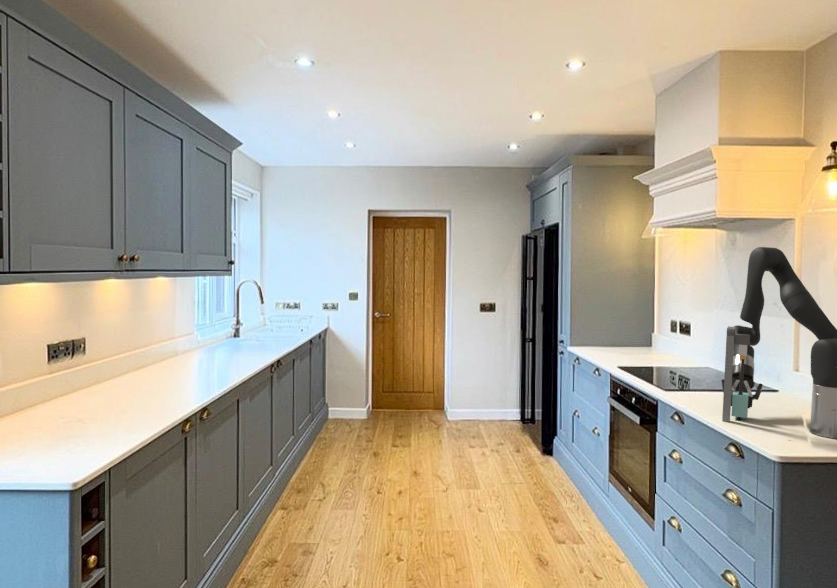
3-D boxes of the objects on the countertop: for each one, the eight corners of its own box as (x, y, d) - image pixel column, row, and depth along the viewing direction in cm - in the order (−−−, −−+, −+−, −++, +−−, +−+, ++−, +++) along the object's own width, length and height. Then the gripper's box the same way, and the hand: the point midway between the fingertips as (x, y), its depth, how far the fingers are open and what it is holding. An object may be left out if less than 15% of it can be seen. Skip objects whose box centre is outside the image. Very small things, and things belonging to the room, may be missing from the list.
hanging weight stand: (723, 419, 212) (728, 326, 210) (745, 422, 209) (750, 327, 206) (722, 424, 206) (726, 328, 204) (744, 427, 202) (750, 330, 200)
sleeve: (732, 411, 214) (733, 390, 213) (747, 413, 211) (748, 392, 211) (731, 415, 208) (732, 394, 208) (747, 418, 205) (748, 396, 205)
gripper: (721, 360, 219) (717, 397, 210) (764, 365, 212) (763, 403, 202) (721, 372, 224) (718, 408, 215) (764, 376, 217) (762, 414, 207)
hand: (740, 406), depth 209 cm, fingers closed on sleeve, 5 cm apart
